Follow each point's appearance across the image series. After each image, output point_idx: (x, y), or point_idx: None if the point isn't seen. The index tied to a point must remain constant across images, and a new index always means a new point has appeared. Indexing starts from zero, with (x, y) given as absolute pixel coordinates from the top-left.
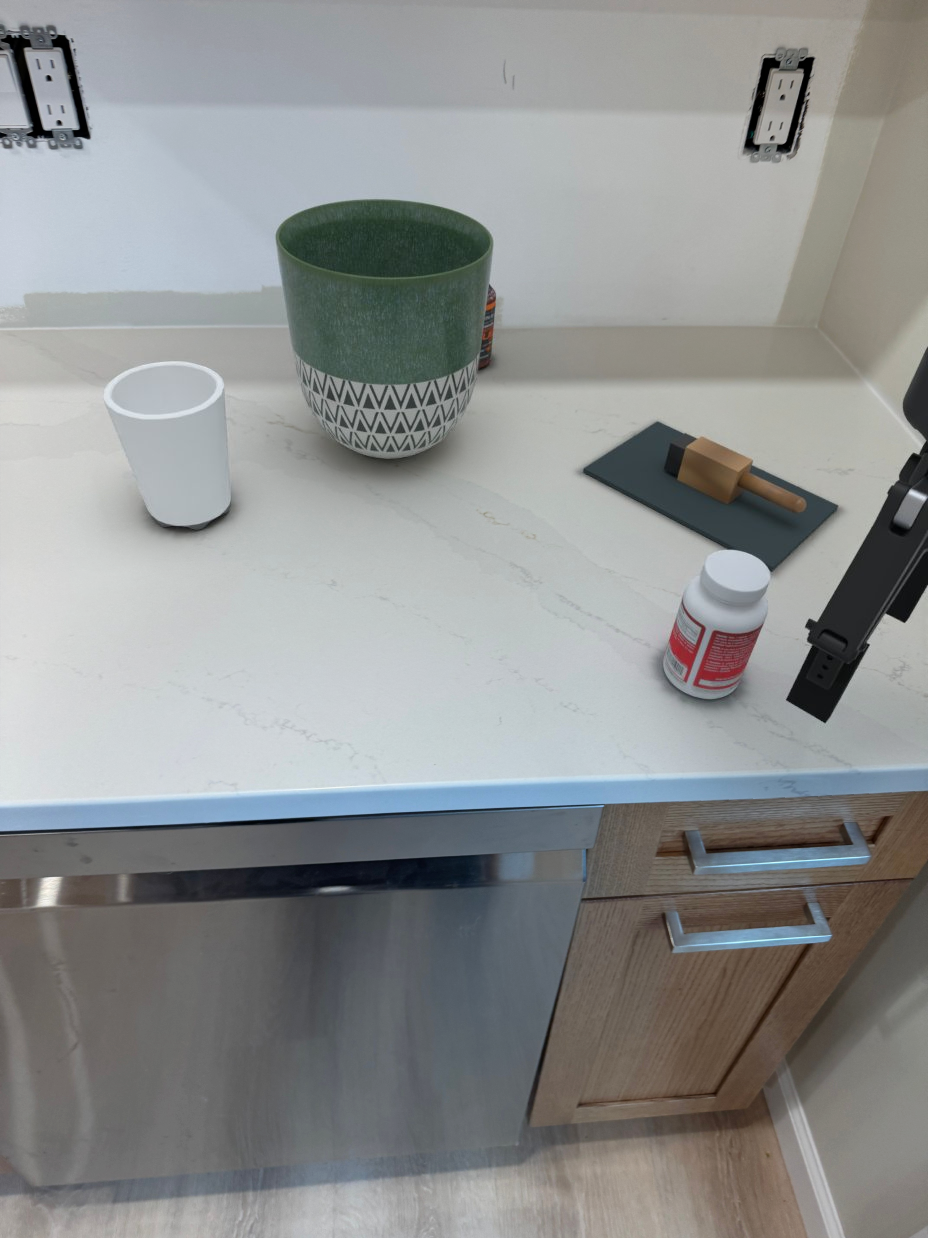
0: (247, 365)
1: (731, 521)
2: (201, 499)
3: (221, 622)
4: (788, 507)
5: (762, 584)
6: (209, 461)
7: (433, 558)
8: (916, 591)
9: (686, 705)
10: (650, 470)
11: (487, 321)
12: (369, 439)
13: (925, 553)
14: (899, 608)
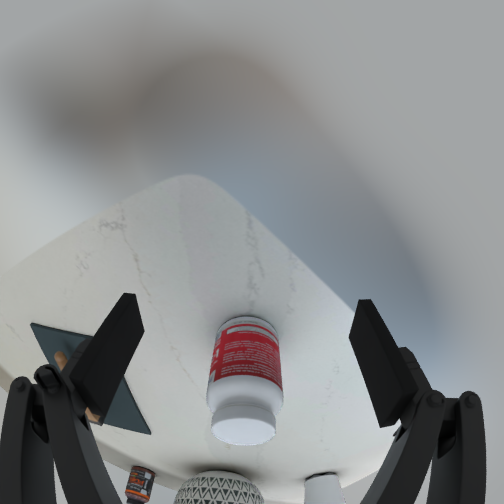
0: None
1: None
2: (330, 484)
3: (370, 447)
4: (66, 360)
5: (246, 420)
6: (327, 498)
7: (279, 445)
8: (117, 330)
9: (285, 330)
10: (115, 413)
11: (135, 486)
12: (255, 490)
13: (98, 384)
14: (132, 314)
